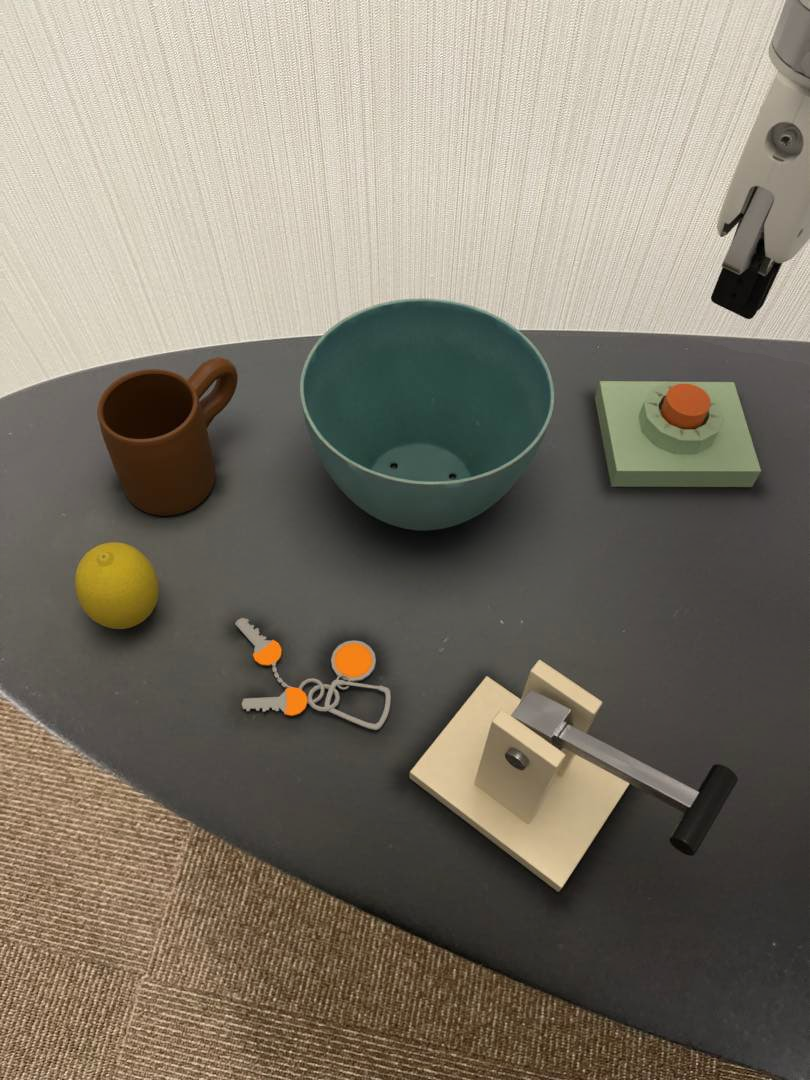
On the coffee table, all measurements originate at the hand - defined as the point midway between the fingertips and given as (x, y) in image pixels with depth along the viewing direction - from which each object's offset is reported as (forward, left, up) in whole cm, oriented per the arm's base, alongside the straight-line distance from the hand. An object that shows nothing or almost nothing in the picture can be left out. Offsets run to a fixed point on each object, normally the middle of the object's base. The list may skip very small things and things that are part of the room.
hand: (735, 304), depth 63 cm
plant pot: (+21, +3, -18) cm, 28 cm away
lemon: (+43, +15, -18) cm, 49 cm away
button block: (-1, -2, -18) cm, 18 cm away
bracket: (+15, +28, -18) cm, 36 cm away
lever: (+12, +31, -7) cm, 34 cm away
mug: (+40, +1, -18) cm, 44 cm away
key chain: (+30, +20, -18) cm, 40 cm away
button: (-1, -2, -14) cm, 14 cm away
